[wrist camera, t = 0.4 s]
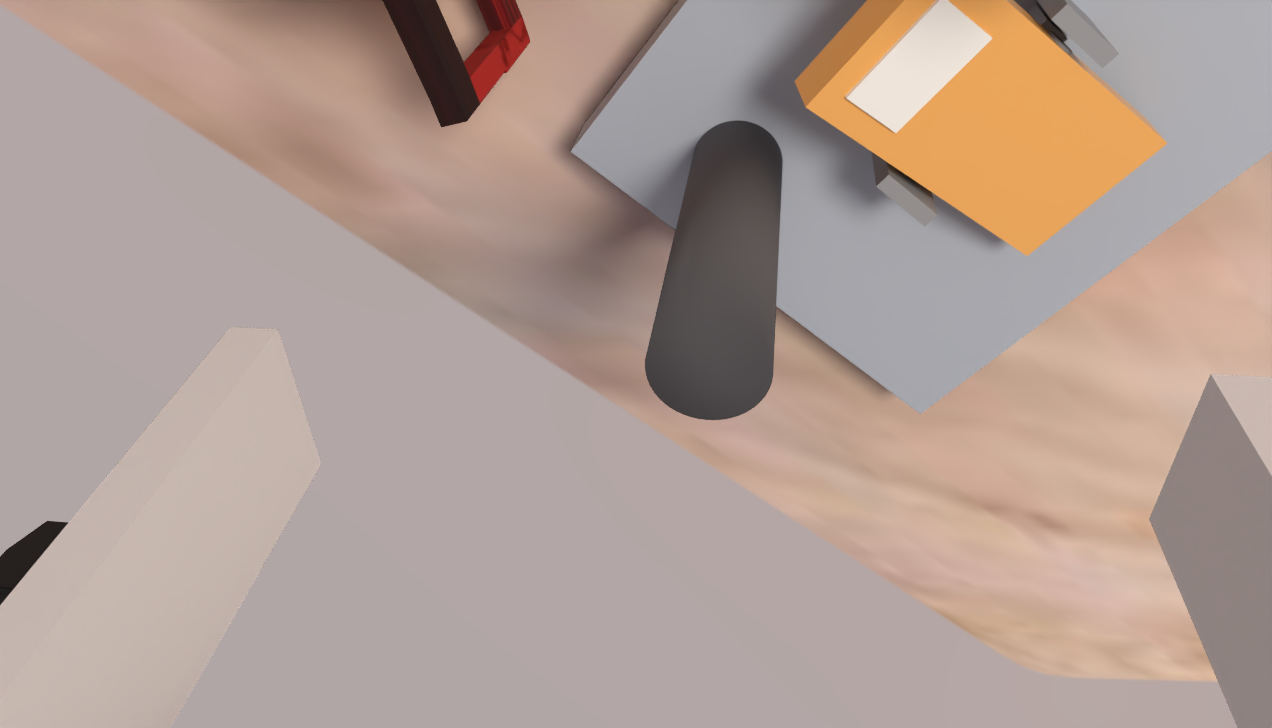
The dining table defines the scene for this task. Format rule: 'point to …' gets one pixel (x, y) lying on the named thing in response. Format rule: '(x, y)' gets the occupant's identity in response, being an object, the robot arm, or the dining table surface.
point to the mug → (439, 59)
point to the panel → (908, 212)
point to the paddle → (979, 111)
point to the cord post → (721, 279)
